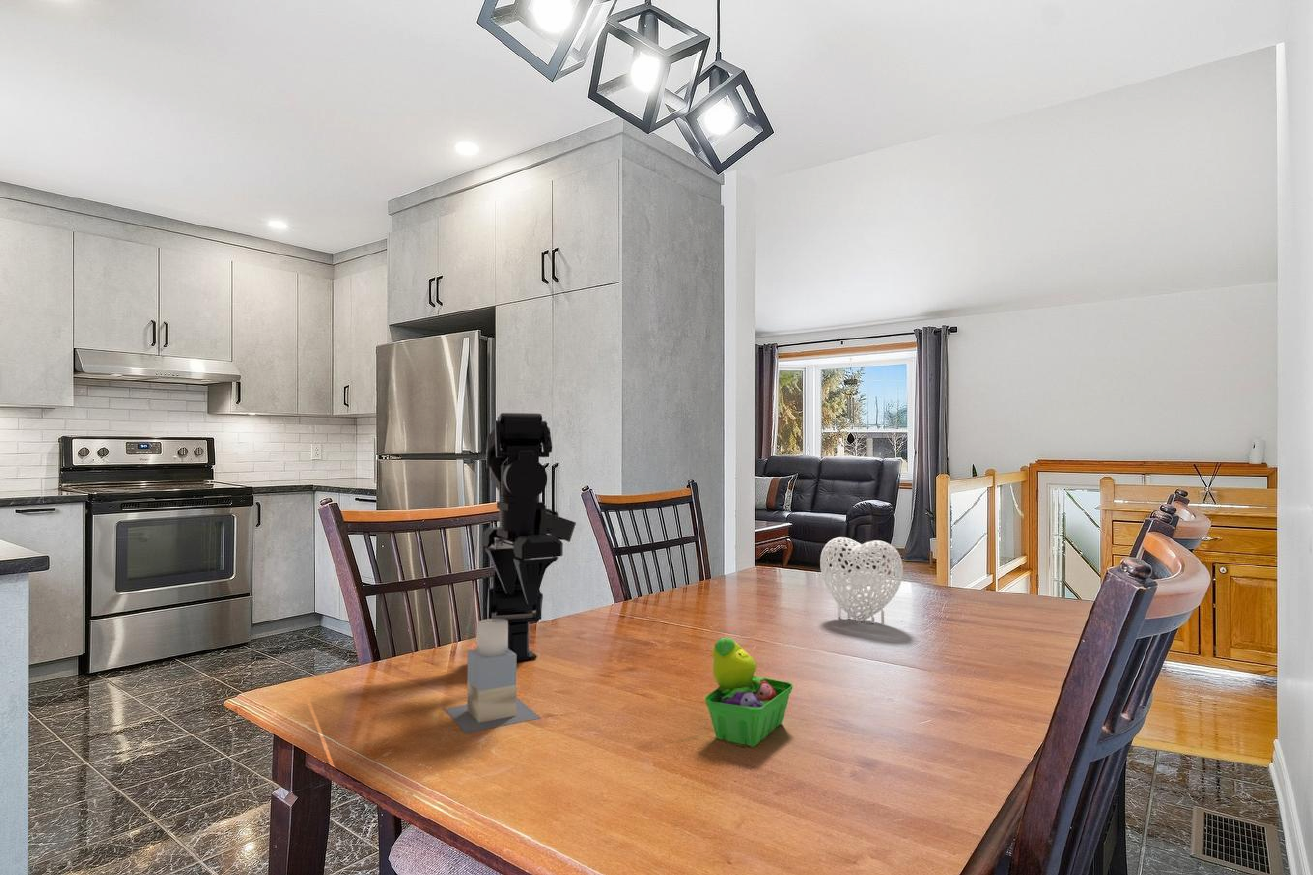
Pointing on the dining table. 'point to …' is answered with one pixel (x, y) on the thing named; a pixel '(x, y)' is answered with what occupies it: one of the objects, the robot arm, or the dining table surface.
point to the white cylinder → (492, 637)
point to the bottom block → (491, 703)
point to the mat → (473, 725)
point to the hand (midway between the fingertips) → (519, 598)
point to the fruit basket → (744, 697)
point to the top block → (491, 670)
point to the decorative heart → (861, 576)
